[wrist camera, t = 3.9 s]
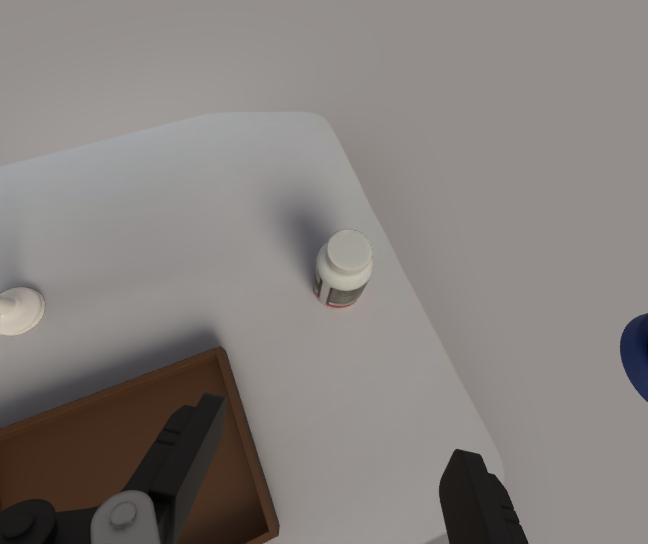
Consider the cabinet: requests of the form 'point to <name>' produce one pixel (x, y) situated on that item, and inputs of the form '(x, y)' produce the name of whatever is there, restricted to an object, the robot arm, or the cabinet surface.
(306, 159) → the cabinet surface
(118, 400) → the tray
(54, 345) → the cabinet surface
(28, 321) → the chess piece
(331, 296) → the pill bottle
